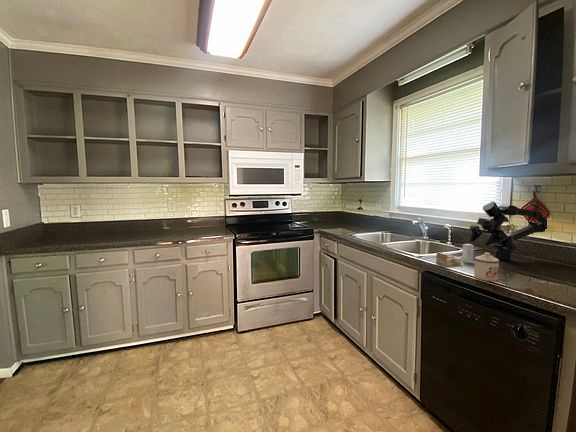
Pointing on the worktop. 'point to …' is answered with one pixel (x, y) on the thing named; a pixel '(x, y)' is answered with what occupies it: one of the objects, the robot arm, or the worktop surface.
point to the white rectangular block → (467, 253)
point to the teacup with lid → (486, 267)
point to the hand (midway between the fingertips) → (477, 243)
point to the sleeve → (447, 260)
